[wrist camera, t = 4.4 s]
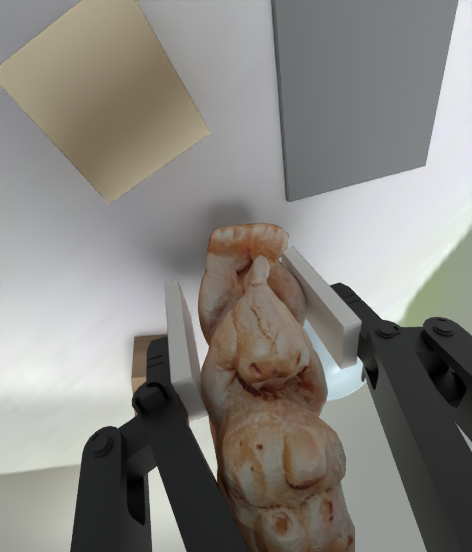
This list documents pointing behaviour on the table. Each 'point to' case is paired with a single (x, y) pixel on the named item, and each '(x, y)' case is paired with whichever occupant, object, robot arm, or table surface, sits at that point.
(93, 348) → the table surface
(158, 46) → the beech block
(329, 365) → the pale blue rounded block
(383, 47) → the grey mat
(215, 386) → the figurine
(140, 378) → the walnut block
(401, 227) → the table surface
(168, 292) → the robot arm
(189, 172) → the table surface
